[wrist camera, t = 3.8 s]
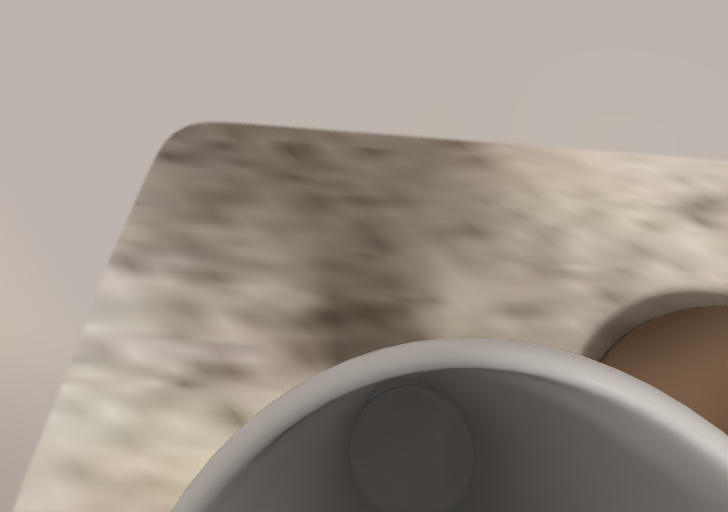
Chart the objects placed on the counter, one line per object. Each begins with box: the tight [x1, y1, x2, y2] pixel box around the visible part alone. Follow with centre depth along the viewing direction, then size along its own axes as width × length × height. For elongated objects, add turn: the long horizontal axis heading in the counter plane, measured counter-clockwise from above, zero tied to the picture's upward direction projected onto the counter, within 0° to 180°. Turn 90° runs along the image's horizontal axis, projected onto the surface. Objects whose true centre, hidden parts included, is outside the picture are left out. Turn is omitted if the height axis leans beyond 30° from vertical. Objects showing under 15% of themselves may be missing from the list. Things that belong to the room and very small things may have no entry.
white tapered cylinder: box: [171, 337, 728, 512], centre depth 10 cm, size 7×7×15 cm
